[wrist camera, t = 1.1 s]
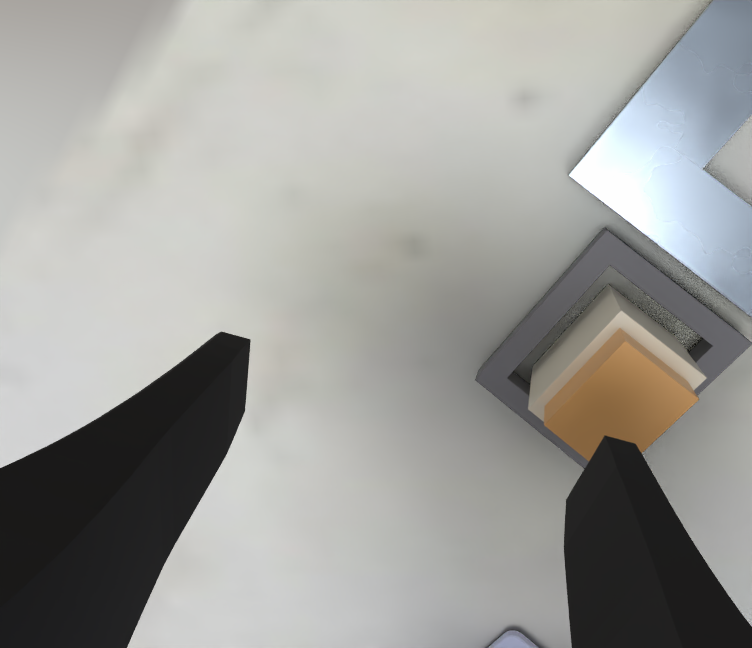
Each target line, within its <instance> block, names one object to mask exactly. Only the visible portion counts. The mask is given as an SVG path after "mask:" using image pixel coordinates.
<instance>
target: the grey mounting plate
mask: <svg viewBox="0 0 752 648" xmlns="http://www.w3.org/2000/svg"><path fill="white" fill-rule="evenodd" d="M609 265H610V266H612V267H613V268H614V269H616V270H617V271H618V272H619V273H621V274H622V275H623V276H624V277H626V278H627V279H628V280H630V281H631V282H632V283H633V284H635V285H636V286H637V287H638V288H640V289H641V290H642V291H644V292H645V293H646V294H647V295H649V296H650V297H651V298H653V299H654V300H655V301H656V302H658V303H659V304H660V305H661V306H663V307H664V308H665V309H667V310H668V311H669V312H670V313H672V314H673V315H674V316H676V317H677V318H678V319H679V320H681V321H682V322H683V323H684V324H686V325H687V326H688V327H690V328H691V329H692V330H693V331H695V332H696V333H697V334H699V335H700V336H701V337H702V338H703V339H702V340H701V341H700V342H699V343H698V344H697V345H696V346H695V347H694V348H693V349H692V350H691V351H690V352H689V355H690V356H691V357H692V359H693V360H694V361H695V363H696V364H697V365H698V367H699V368H700V369H701V371H702V372H703V373H704V375H705V376H706V377H707V378H706V379H705V380H704V381H703V382H702V383H701V384H700V385H699V386H698V387H697V388H696V389H695V390H694V392H695V393H696V395H698V394H699V393H700V392H701V391H703V390H704V389H705V388H706V387H707V386H708V385H709V384H710V383H711V382H712V381H713V380H714V379H715V378H716V377H717V376H719V375H720V374H721V373H722V372H723V371H724V370H725V369H726V368H727V367H728V366H729V365H730V364H731V363H732V362H733V361H734V360H736V359H737V358H738V357H739V356H740V355H741V354H742V353H743V352H744V351H745V350H746V349H747V348H748V347H749V346H750V345H751V344H752V343H751V342H750V341H749V340H748V339H747V338H746V337H744V336H743V335H742V334H741V333H740V332H738V331H737V330H736V329H734V328H733V327H732V326H731V325H729V324H728V323H727V322H725V321H724V320H723V319H722V318H720V317H719V316H718V315H716V314H715V313H714V312H713V311H711V310H710V309H709V308H707V307H706V306H705V305H704V304H702V303H701V302H700V301H698V300H697V299H696V298H695V297H693V296H692V295H691V294H689V293H688V292H687V291H686V290H684V289H683V288H682V287H680V286H679V285H678V284H677V283H675V282H674V281H673V280H671V279H670V278H669V277H668V276H666V275H665V274H664V273H662V272H661V271H660V270H659V269H657V268H656V267H655V266H653V265H652V264H651V263H650V262H648V261H647V260H646V259H644V258H643V257H642V256H641V255H639V254H638V253H637V252H635V251H634V250H633V249H632V248H630V247H629V246H628V245H626V244H625V243H624V242H623V241H621V240H620V239H619V238H617V237H616V236H615V235H614V234H612V233H611V232H610V231H608V230H607V229H606V228H605V227H604V228H603V230H602V231H601V232H600V233H599V234H598V235H597V236H596V237H595V239H594V240H593V241H592V242H591V243H590V244H589V245H588V247H587V248H586V249H585V250H584V251H583V252H582V253H581V255H580V256H579V257H578V258H577V259H576V260H575V261H574V262H573V264H572V265H571V266H570V267H569V268H568V269H567V270H566V272H565V273H564V274H563V275H562V276H561V277H560V278H559V280H558V281H557V282H556V283H555V284H554V285H553V286H552V287H551V289H550V290H549V291H548V292H547V293H546V294H545V295H544V297H543V298H542V299H541V300H540V301H539V302H538V303H537V305H536V306H535V307H534V308H533V309H532V310H531V311H530V312H529V314H528V315H527V316H526V317H525V318H524V319H523V320H522V322H521V323H520V324H519V325H518V326H517V327H516V328H515V330H514V331H513V332H512V333H511V334H510V335H509V336H508V337H507V339H506V340H505V341H504V342H503V343H502V344H501V345H500V347H499V348H498V349H497V350H496V351H495V352H494V353H493V355H492V356H491V357H490V358H489V359H488V360H487V361H486V362H485V364H484V365H483V366H482V367H481V368H480V369H479V371H478V374H477V376H476V379H475V380H476V381H477V382H478V383H480V384H481V385H482V386H483V387H485V388H486V389H487V390H488V391H489V392H491V393H492V394H493V395H494V396H496V397H497V398H498V399H499V400H501V401H502V402H503V403H504V404H505V405H507V406H508V407H509V408H510V409H512V410H513V411H514V412H515V413H517V414H518V415H519V416H520V417H521V418H523V419H524V420H525V421H526V422H528V423H529V424H530V425H531V426H533V427H534V428H535V429H536V430H537V431H539V432H540V433H541V434H542V435H544V436H545V437H546V438H547V439H549V440H550V441H551V442H552V443H553V444H555V445H556V446H557V447H558V448H560V449H561V450H562V451H563V452H565V453H566V454H567V455H568V456H569V457H571V458H572V459H573V460H574V461H576V462H577V463H578V464H579V465H581V466H582V467H583V468H584V469H585V468H586V466H587V464H588V462H589V461H588V460H586V459H585V458H584V457H583V456H582V455H580V454H579V453H578V452H577V451H575V450H574V449H573V448H572V447H570V446H569V445H568V444H567V443H565V442H564V441H563V440H562V439H561V438H559V437H558V436H557V435H556V434H554V433H553V432H552V431H551V430H549V429H548V428H547V427H546V426H545V425H544V422H543V421H542V420H541V419H539V418H538V417H537V416H536V415H534V414H533V413H532V412H531V411H530V410H528V404H529V395H530V385H529V384H528V383H527V382H525V381H524V380H523V379H522V378H520V377H519V376H518V375H517V374H516V373H514V372H513V371H514V370H515V369H516V368H517V366H518V365H519V364H520V363H521V362H522V361H523V360H524V359H525V358H526V357H527V355H528V354H529V353H530V352H531V351H532V350H533V349H534V348H535V347H536V346H537V344H538V343H539V342H540V341H541V340H542V339H543V338H544V337H545V336H546V334H547V333H548V332H549V331H550V330H551V329H552V328H553V327H554V326H555V325H556V323H557V322H558V321H559V320H560V319H561V318H562V317H563V316H564V315H565V314H566V312H567V311H568V310H569V309H570V308H571V307H572V306H573V305H574V304H575V302H576V301H577V300H578V299H579V298H580V297H581V296H582V295H583V294H584V293H585V291H586V290H587V289H588V288H589V287H590V286H591V285H592V284H593V283H594V282H595V280H596V279H597V278H598V277H599V276H600V275H601V274H602V273H603V272H604V270H605V269H606V268H607V267H608V266H609Z"/></svg>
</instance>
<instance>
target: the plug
mask: <svg viewBox="0 0 752 648" xmlns="http://www.w3.org/2000/svg"><path fill="white" fill-rule="evenodd" d="M706 378H707V377H706V376H705V375H704V373H703V372H702V371H701V369H700V368H699V367H698V365H697V364H696V363H695V361H694V360H693V359H692V357H691V356H690V355H689V353H688V352H687V351H686V349H685V348H684V346H683V345H682V344H681V342H680V341H679V340H678V338H676V337H675V336H674V335H673V334H671V333H670V332H669V331H667V330H666V329H665V328H664V327H662V326H661V325H660V324H659V323H657V322H656V321H655V320H653V319H652V318H651V317H650V316H648V315H647V314H646V313H645V312H643V311H642V310H641V309H639V308H638V307H637V306H636V305H634V304H633V303H632V302H631V301H629V300H628V299H627V298H625V297H624V296H623V295H622V294H620V293H619V292H618V291H617V290H615V289H614V288H613V287H611V286H610V285H609V284H608V285H607V286H606V287H605V288H604V289H603V290H602V291H601V292H600V293H599V295H598V296H597V297H596V298H595V299H594V300H593V301H592V302H591V303H590V304H589V305H588V307H587V308H586V309H585V310H584V311H583V312H582V313H581V314H580V315H579V316H578V317H577V319H576V320H575V321H574V322H573V323H572V324H571V325H570V326H569V327H568V328H567V329H566V331H565V332H564V333H563V334H562V335H561V336H560V337H559V338H558V339H557V340H556V341H555V342H554V344H553V345H552V346H551V347H550V348H549V349H548V350H547V351H546V352H545V353H544V354H543V356H542V357H541V358H540V359H539V360H538V361H537V362H536V363H535V364H534V365H533V366H532V376H531V385H530V395H529V404H528V410H530V411H531V412H532V413H533V414H534V415H536V416H537V417H538V418H539V419H541V420H542V421H543V422H544V425H545V426H546V427H547V428H548V429H549V430H551V431H552V432H553V433H554V434H556V435H557V436H558V437H559V438H561V439H562V440H563V441H564V442H565V443H567V444H568V445H569V446H570V447H572V448H573V449H574V450H575V451H577V452H578V453H579V454H580V455H582V456H583V457H584V458H585V459H586V460H588V461H590V459H591V457H592V456H593V454H594V452H595V451H596V449H597V447H598V446H599V444H600V442H601V441H602V439H603V437H604V436H605V435H606V436H609V437H613V438H617V439H620V440H624V441H628V442H631V443H635V444H636V445H637V447H638V449H639V450H640V452H641V453H642V452H643V451H645V450H646V449H647V448H648V447H649V446H650V445H651V444H652V443H653V442H654V441H655V440H656V439H657V438H658V437H660V436H661V435H662V434H663V433H664V432H665V431H666V430H667V429H668V428H669V427H670V426H671V425H672V424H673V423H674V422H676V421H677V420H678V419H679V418H680V417H681V416H682V415H683V414H684V413H685V412H686V411H687V410H688V409H689V408H690V407H692V406H693V405H694V404H695V403H696V402H697V401H698V400H699V398H698V397H697V395H696V393H695V392H694V390H695V389H696V388H697V387H698V386H699V385H700V384H701V383H702V382H703V381H704V380H705V379H706Z"/></svg>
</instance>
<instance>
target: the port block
mask: <svg viewBox="0 0 752 648" xmlns="http://www.w3.org/2000/svg"><path fill="white" fill-rule="evenodd" d="M751 115H752V0H712V1H711V2H710V3H709V5H708V6H707V7H706V8H705V9H704V11H703V12H702V13H701V14H700V16H699V17H698V18H697V19H696V20H695V22H694V23H693V24H692V25H691V26H690V28H689V29H688V30H687V31H686V32H685V34H684V35H683V36H682V37H681V39H680V40H679V41H678V42H677V43H676V45H675V46H674V47H673V48H672V49H671V51H670V52H669V53H668V54H667V55H666V57H665V58H664V59H663V60H662V62H661V63H660V64H659V65H658V66H657V68H656V69H655V70H654V71H653V72H652V74H651V75H650V76H649V77H648V78H647V80H646V81H645V82H644V83H643V85H642V86H641V87H640V88H639V89H638V91H637V92H636V93H635V94H634V95H633V97H632V98H631V99H630V100H629V101H628V103H627V104H626V105H625V106H624V108H623V109H622V110H621V111H620V112H619V114H618V115H617V116H616V117H615V118H614V120H613V121H612V122H611V123H610V124H609V126H608V127H607V128H606V129H605V131H604V132H603V133H602V134H601V135H600V137H599V138H598V139H597V140H596V141H595V143H594V144H593V145H592V146H591V147H590V149H589V150H588V151H587V152H586V154H585V155H584V156H583V157H582V158H581V160H580V161H579V162H578V163H577V164H576V166H575V167H574V168H573V169H572V170H571V172H570V173H569V174H568V176H569V177H571V178H572V179H573V180H575V181H576V182H577V183H578V184H580V185H581V186H582V187H584V188H585V189H586V190H587V191H589V192H590V193H591V194H593V195H594V196H595V197H596V198H598V199H599V200H600V201H602V202H603V203H604V204H606V205H607V206H608V207H609V208H611V209H612V210H613V211H615V212H616V213H617V214H618V215H620V216H621V217H622V218H624V219H625V220H626V221H627V222H629V223H630V224H631V225H633V226H634V227H635V228H636V229H638V230H639V231H640V232H642V233H643V234H644V235H645V236H647V237H648V238H649V239H651V240H652V241H653V242H655V243H656V244H657V245H658V246H660V247H661V248H662V249H664V250H665V251H666V252H667V253H669V254H670V255H671V256H673V257H674V258H675V259H676V260H678V261H679V262H680V263H682V264H683V265H684V266H685V267H687V268H688V269H689V270H691V271H692V272H693V273H694V274H696V275H697V276H698V277H700V278H701V279H702V280H704V281H705V282H706V283H707V284H709V285H710V286H711V287H713V288H714V289H715V290H716V291H718V292H719V293H720V294H722V295H723V296H724V297H725V298H727V299H728V300H729V301H731V302H732V303H733V304H734V305H736V306H737V307H738V308H740V309H741V310H742V311H743V312H745V313H746V314H747V315H749V316H750V317H751V318H752V207H751V206H750V205H749V204H747V203H746V202H745V201H744V200H742V199H741V198H740V197H738V196H737V195H736V194H734V193H733V192H732V191H730V190H729V189H728V188H726V187H725V186H724V185H723V184H721V183H720V182H719V181H717V180H716V179H715V178H713V177H712V176H711V175H709V174H708V173H707V172H705V171H704V170H703V168H704V166H705V165H706V164H707V163H708V162H709V161H710V160H711V159H712V158H713V157H714V155H715V154H716V153H717V152H718V151H719V150H720V149H721V148H722V147H723V146H724V144H725V143H726V142H727V141H728V140H729V139H730V138H731V137H732V136H733V135H734V133H735V132H736V131H737V130H738V129H739V128H740V127H741V126H742V125H743V124H744V122H745V121H746V120H747V119H748V118H749V117H750V116H751Z"/></svg>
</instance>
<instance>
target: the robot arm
mask: <svg viewBox="0 0 752 648" xmlns="http://www.w3.org/2000/svg"><path fill="white" fill-rule="evenodd" d="M249 352H250V339H247V338H243V337H239V336H236V335H232V334H228V333H225V332H220V333H218V334H216V335H215V336H214V337H212V338H211V339H210V340H208V341H207V342H206V343H205V344H203V345H202V346H201V347H200V348H198V349H197V350H196V351H194V352H193V353H192V354H191V355H189V356H188V357H187V358H185V359H184V360H183V361H181V362H180V363H179V364H177V365H176V366H175V367H173V368H172V369H171V370H169V371H168V372H167V373H165V374H164V375H162V376H161V377H160V378H158V379H157V380H155V381H154V382H152V383H151V384H150V385H148V386H147V387H145V388H144V389H143V390H141V391H140V392H138V393H137V394H135V395H134V396H132V397H131V398H129V399H127V400H126V401H124V402H123V403H121V404H120V405H118V406H116V407H115V408H113V409H112V410H110V411H109V412H107V413H105V414H104V415H102V416H101V417H99V418H97V419H96V420H94V421H92V422H91V423H89V424H87V425H85V426H84V427H82V428H80V429H78V430H77V431H75V432H73V433H71V434H69V435H67V436H66V437H64V438H62V439H60V440H58V441H56V442H54V443H52V444H50V445H49V446H47V447H45V448H42V449H40V450H38V451H36V452H34V453H32V454H30V455H28V456H26V457H24V458H22V459H20V460H17V461H15V462H13V463H11V464H9V465H7V466H4V467H2V468H0V648H127V646H128V644H129V642H130V639H131V637H132V635H133V632H134V630H135V628H136V626H137V623H138V621H139V619H140V616H141V614H142V612H143V610H144V607H145V605H146V603H147V601H148V599H149V596H150V594H151V592H152V590H153V588H154V585H155V583H156V581H157V579H158V577H159V574H160V572H161V570H162V568H163V566H164V564H165V562H166V560H167V558H168V556H169V554H170V552H171V551H172V549H173V547H174V545H175V543H176V541H177V540H178V538H179V536H180V535H181V533H182V531H183V529H184V528H185V526H186V524H187V522H188V521H189V519H190V517H191V515H192V514H193V512H194V510H195V509H196V507H197V505H198V503H199V502H200V500H201V498H202V496H203V495H204V493H205V491H206V490H207V488H208V486H209V484H210V483H211V481H212V479H213V477H214V476H215V474H216V472H217V470H218V469H219V467H220V465H221V463H222V461H223V460H224V458H225V456H226V454H227V452H228V450H229V448H230V445H231V443H232V441H233V438H234V436H235V434H236V431H237V429H238V426H239V424H240V422H241V419H242V417H243V414H244V412H245V404H246V391H247V378H248V365H249ZM564 556H565V570H566V583H567V595H568V607H569V619H570V631H571V643H572V648H752V627H751V625H750V624H749V623H748V622H747V620H746V619H745V618H744V616H743V615H742V614H741V612H740V611H739V610H738V608H737V607H736V605H735V604H734V603H733V601H732V600H731V598H730V597H729V596H728V594H727V593H726V591H725V590H724V588H723V587H722V585H721V584H720V582H719V581H718V579H717V578H716V577H715V575H714V574H713V572H712V571H711V569H710V568H709V566H708V565H707V563H706V562H705V560H704V559H703V557H702V555H701V554H700V552H699V551H698V549H697V548H696V546H695V544H694V543H693V541H692V540H691V538H690V536H689V535H688V533H687V531H686V530H685V528H684V527H683V525H682V523H681V522H680V520H679V518H678V517H677V515H676V513H675V511H674V510H673V508H672V506H671V505H670V503H669V501H668V499H667V498H666V496H665V494H664V492H663V491H662V489H661V487H660V485H659V484H658V482H657V480H656V478H655V477H654V475H653V473H652V471H651V470H650V468H649V466H648V464H647V462H646V461H645V459H644V457H643V455H642V454H641V452H640V450H639V449H638V447H637V445H636V444H635V443H631V442H628V441H624V440H620V439H617V438H613V437H609V436H606V435H605V436H604V437H603V439H602V441H601V442H600V444H599V446H598V447H597V449H596V451H595V452H594V454H593V456H592V457H591V459H590V461H589V462H588V464H587V466H586V468H585V469H584V471H583V473H582V474H581V476H580V478H579V479H578V481H577V483H576V484H575V486H574V488H573V489H572V491H571V493H570V494H569V496H568V498H567V500H566V515H565V534H564ZM488 648H538V647H537V646H536V645H535V644H534V643H532V642H531V641H530V640H529V639H528V638H526V637H525V636H524V635H523V634H522V633H520V632H518V631H514V630H511V631H507V632H505V633H504V634H503V635H502V636H501V637H499V638H498V639H497V640H496V641H495V642H494V643H493V644H492V645H490V646H489V647H488Z"/></svg>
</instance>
